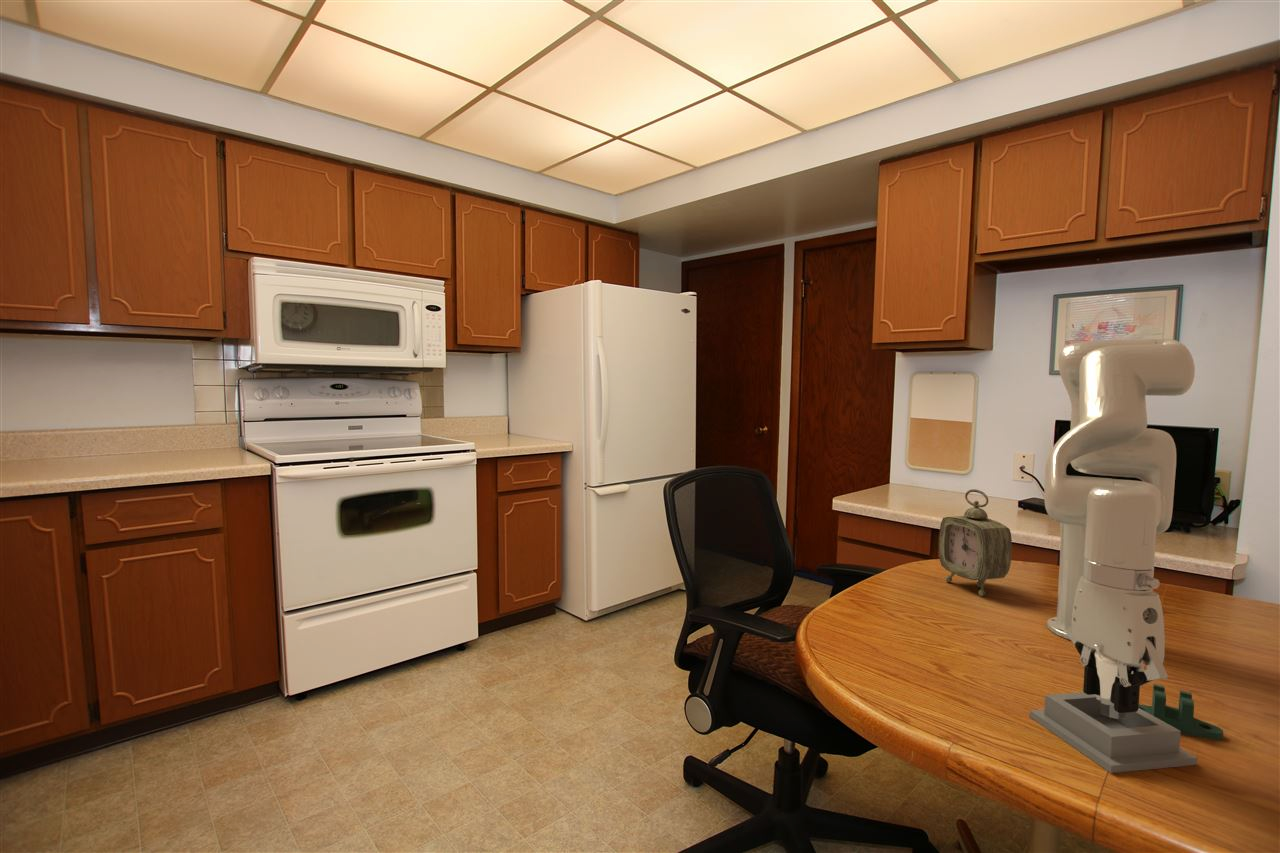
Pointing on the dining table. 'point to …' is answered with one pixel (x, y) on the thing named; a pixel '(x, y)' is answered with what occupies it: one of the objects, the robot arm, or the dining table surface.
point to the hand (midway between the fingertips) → (1109, 700)
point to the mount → (1180, 715)
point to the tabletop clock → (975, 545)
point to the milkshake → (1107, 684)
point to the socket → (1113, 734)
